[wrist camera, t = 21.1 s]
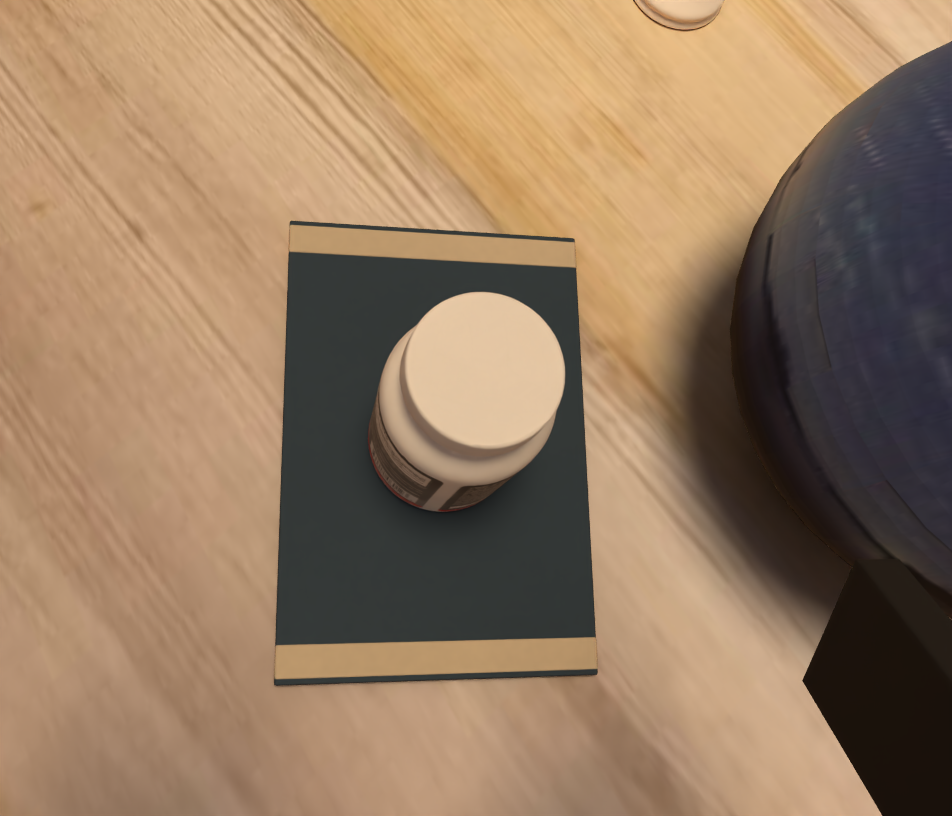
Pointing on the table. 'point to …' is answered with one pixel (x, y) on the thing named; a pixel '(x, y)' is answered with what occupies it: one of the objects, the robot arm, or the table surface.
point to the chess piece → (681, 12)
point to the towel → (399, 523)
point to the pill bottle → (465, 401)
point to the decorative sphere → (860, 328)
